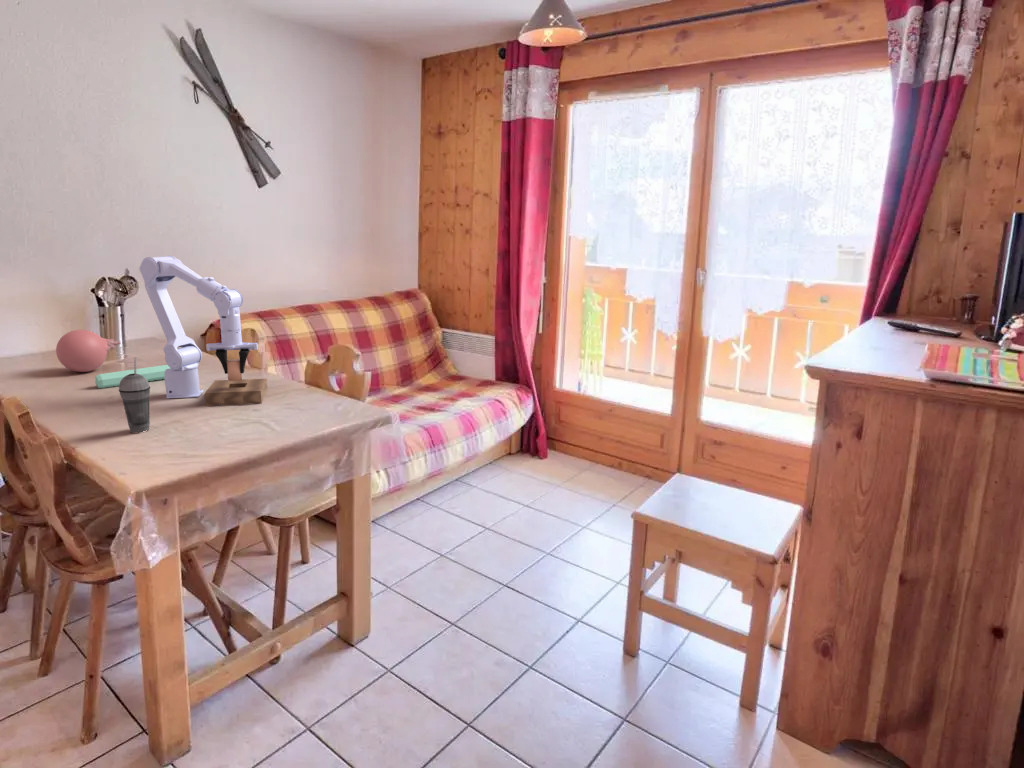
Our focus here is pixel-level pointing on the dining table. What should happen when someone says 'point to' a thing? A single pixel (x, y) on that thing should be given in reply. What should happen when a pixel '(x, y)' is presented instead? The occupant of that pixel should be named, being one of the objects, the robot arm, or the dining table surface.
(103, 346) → the balloon
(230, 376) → the terracotta plug
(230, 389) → the walnut bore block
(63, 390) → the dining table surface
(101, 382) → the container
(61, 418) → the dining table surface
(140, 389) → the beverage cup
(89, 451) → the dining table surface
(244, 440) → the dining table surface
